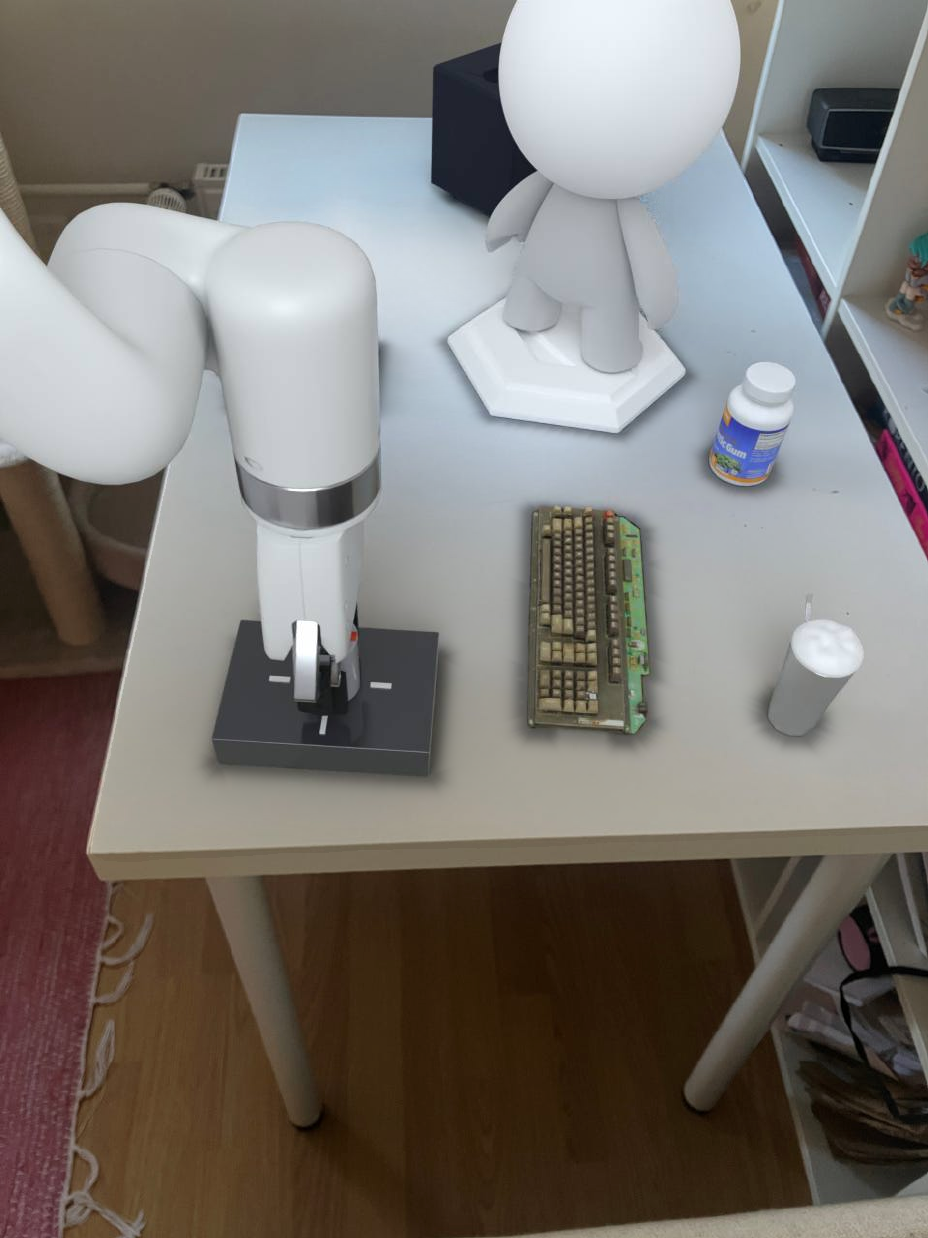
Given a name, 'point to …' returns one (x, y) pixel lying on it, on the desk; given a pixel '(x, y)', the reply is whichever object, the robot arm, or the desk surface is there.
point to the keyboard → (586, 621)
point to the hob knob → (349, 664)
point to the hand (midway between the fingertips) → (329, 671)
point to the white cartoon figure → (595, 202)
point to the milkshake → (813, 673)
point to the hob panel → (355, 742)
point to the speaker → (473, 132)
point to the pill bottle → (753, 425)
